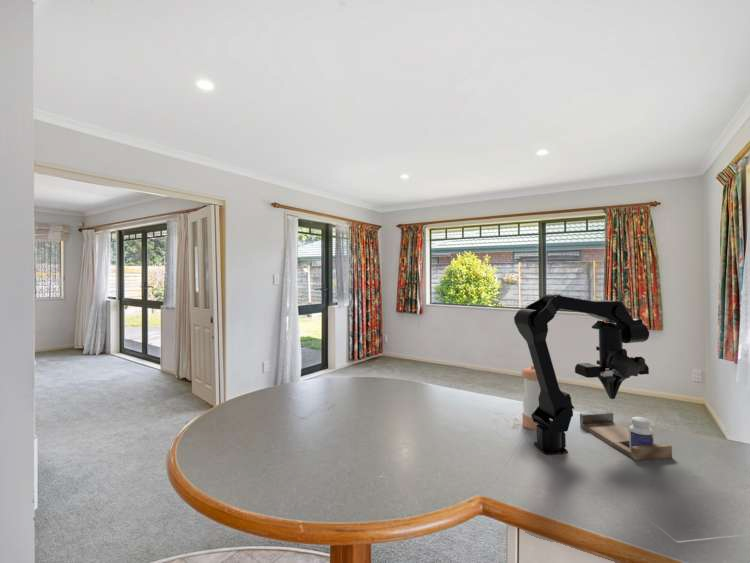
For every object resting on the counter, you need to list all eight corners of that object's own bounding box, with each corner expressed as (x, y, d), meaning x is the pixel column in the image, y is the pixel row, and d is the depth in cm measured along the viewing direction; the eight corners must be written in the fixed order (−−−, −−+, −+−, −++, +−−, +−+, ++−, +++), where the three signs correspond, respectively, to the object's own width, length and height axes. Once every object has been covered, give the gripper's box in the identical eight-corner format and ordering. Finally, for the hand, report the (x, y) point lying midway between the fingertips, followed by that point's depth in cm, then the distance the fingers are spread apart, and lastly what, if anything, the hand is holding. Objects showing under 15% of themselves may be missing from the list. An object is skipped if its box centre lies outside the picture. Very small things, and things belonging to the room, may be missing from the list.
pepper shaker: (522, 428, 119) (520, 367, 119) (522, 420, 126) (521, 362, 126) (547, 431, 117) (546, 369, 116) (546, 422, 123) (545, 363, 123)
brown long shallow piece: (635, 460, 97) (635, 444, 97) (580, 426, 119) (579, 413, 119) (672, 457, 98) (671, 442, 98) (610, 424, 120) (609, 411, 120)
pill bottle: (657, 457, 98) (656, 423, 98) (634, 456, 99) (633, 422, 99) (648, 448, 103) (647, 416, 103) (626, 447, 104) (625, 415, 104)
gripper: (599, 351, 100) (600, 410, 100) (664, 347, 101) (666, 406, 102) (573, 344, 111) (574, 397, 111) (632, 340, 112) (634, 393, 113)
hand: (612, 398), depth 109 cm, fingers closed
